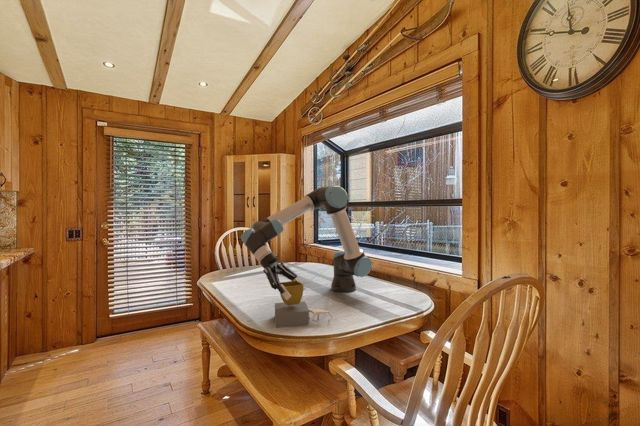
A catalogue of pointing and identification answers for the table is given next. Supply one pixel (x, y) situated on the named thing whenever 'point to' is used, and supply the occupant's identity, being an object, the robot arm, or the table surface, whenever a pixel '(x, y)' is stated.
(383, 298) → the table surface
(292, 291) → the flower pot
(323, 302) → the table surface
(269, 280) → the robot arm
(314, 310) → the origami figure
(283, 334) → the table surface
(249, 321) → the table surface
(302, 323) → the base block
